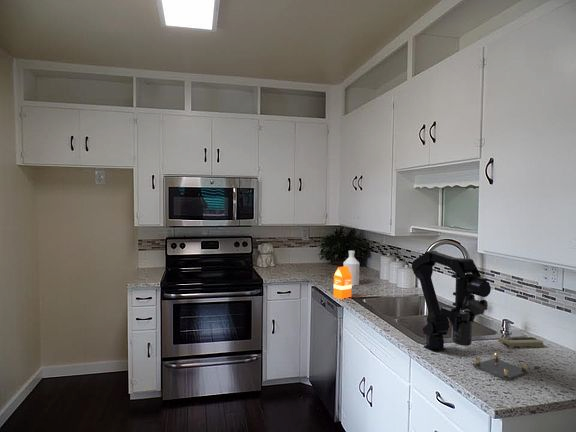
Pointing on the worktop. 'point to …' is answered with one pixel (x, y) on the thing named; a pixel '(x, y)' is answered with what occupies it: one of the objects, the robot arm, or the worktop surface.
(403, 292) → the worktop surface
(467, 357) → the worktop surface
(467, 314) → the supplement bottle
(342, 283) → the orange juice
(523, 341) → the olive rectangular tray
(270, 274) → the worktop surface
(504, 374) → the chassis plate
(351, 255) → the bottle
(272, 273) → the worktop surface
